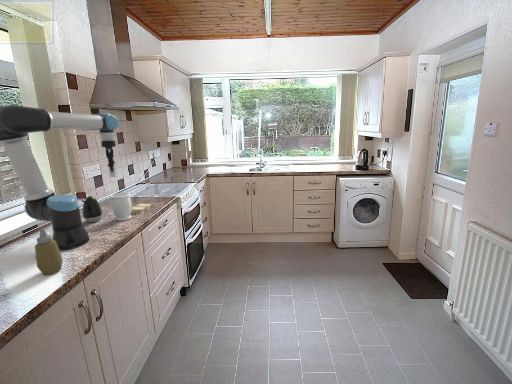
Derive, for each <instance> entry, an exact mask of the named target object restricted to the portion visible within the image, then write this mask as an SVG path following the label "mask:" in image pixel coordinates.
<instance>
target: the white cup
mask: <svg viewBox="0 0 512 384" xmlns="http://www.w3.org/2000/svg"><path fill="white" fill-rule="evenodd" d="M130 196H131V194H130V193H128V192H120V193H115V194H111V195H110V198H111V209H112V211H113V214H114V216H115V217H116V218H115V220H116V221H127V220H130V219H131V218H132V215H131V208H132V207H133V206H132V201H131V197H130Z"/></svg>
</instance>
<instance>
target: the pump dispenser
mask: <svg viewBox="0 0 512 384" xmlns="http://www.w3.org/2000/svg"><path fill="white" fill-rule="evenodd" d="M81 203H83V204H82V218H83V219H84V220H85V222H88V223H96V222H98V221H100V220H102V218H103V209H102V207H101V205H100V203H99V201H98V200H97V199H96V197H94V196H92V195H91V196H87V197H85V199H81Z"/></svg>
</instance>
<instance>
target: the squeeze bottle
mask: <svg viewBox="0 0 512 384" xmlns="http://www.w3.org/2000/svg"><path fill="white" fill-rule="evenodd" d="M52 239H53V235H51V234H48V232H47V231H46V229H45V227H41V228H39V236H38V237H37V238H36V242H37V243H36V244H35V246H34V248H35V249H34V251H35V258H36V267H37V268H38V270H39V271H40V272H41V274H42V275H44V276H50V275H53V274H56V273H58V272H59V271H61V269H62V266H63V257H62V254H61V250H59V248H58V245H57V243H56V241H55V240H52Z"/></svg>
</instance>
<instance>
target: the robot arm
mask: <svg viewBox="0 0 512 384" xmlns="http://www.w3.org/2000/svg"><path fill="white" fill-rule="evenodd" d="M119 125H120V123H119V119H118V118H117V117H116V115H112V114H111V113H107V112H105V113H104V112H102V113H97V114H91V113H90V114H89V113H74V112H62V111H61V112H59V111H58V112H57V111H48V110H46V109H45V108H37V107H29V106H22V105H16V104H12V105H11V104H10V105H9V104H8V105H2V106H1V105H0V144H1V146H2V147H3V149H4V151H5V153H6V155H7V157H8V159H9V162H10V163H11V165H12V168H13V169H14V171H15V174H16V175H17V179H18V180H19V182H20V183H21V186H22V188H23V190H24V191H25V193H26V195H25V197H24V201H25V205H24V212H25V214H26V215H27V216H28V217H30V218H31V219H34V220H36V221H40V222H41V221H42V222H43V221H44V222H51V226H52V230H53V231H52V240H55V241H56V243H57V245H58V248H59V251H64V250H69V249H70V250H71V249H75V248H78V247H80V246H84V245H85V244H87V243H88V242H89V241H90V235H89V233H87V231H86V229H85V227H84V226H83V222H82V216H81V211H80V206H79V205H80V203H79V201H78V198H77V197H76V196H74V195H73V194H66V193H65V194H55V192H54V190H53V189H51V188H49V187H48V184H47V183H46V181H45V180H46V179H44V176H43V174H42V171H41V169H40V167H39V164H38V162H37V160H36V158H35V156H34V153H33V151H32V149H31V147H30V145H29V143H28V141H27V139H28V138H29V136H30V133H31V134H32V133H38V132H39V133H40V132H49V131H50V130H81V131H87V132H88V131H99V138H100V143H101V147H102V148H106V149H105V154H106V158H107V162H108V164H107V167H108V170H109V177H110V178H116V177H117V176H116V167H115V164H116V161H114V149H113V148H115V147H116V146H117V144H116V139H115V137H116V133H115V132H114V131H115V130H116V129H117V128H119Z"/></svg>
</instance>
